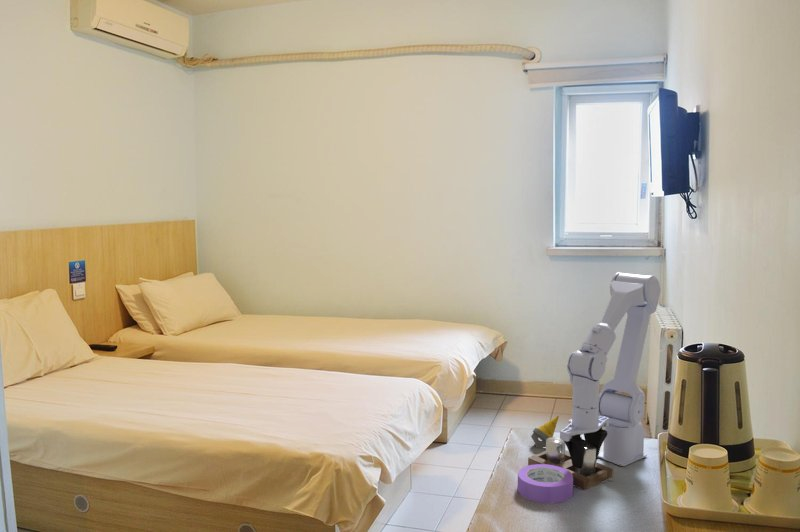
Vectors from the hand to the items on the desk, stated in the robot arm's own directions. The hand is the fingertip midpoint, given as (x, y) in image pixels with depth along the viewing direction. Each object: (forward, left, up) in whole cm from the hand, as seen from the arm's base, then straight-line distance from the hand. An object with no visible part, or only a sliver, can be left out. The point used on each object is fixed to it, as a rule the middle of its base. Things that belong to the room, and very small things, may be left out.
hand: (584, 463), depth 158 cm
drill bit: (-8, -19, -3) cm, 21 cm away
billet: (0, 0, -2) cm, 2 cm away
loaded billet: (0, -8, -3) cm, 9 cm away
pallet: (0, -4, -3) cm, 5 cm away
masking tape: (+12, -1, -4) cm, 12 cm away
